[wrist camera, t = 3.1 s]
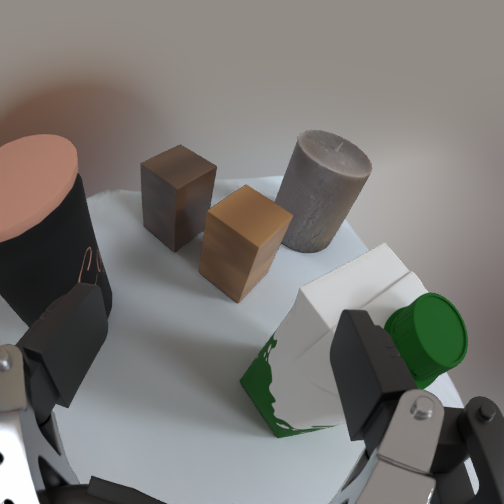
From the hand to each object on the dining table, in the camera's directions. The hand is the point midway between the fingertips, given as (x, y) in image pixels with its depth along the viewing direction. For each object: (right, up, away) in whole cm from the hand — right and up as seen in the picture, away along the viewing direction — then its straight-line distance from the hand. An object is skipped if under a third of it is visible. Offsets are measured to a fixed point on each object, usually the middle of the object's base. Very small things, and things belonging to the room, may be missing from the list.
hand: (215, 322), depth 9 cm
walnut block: (-9, +6, +28) cm, 30 cm away
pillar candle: (+8, +6, +34) cm, 35 cm away
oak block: (-1, 0, +26) cm, 26 cm away
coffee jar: (-19, -4, +18) cm, 27 cm away
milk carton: (+4, -12, +18) cm, 22 cm away
